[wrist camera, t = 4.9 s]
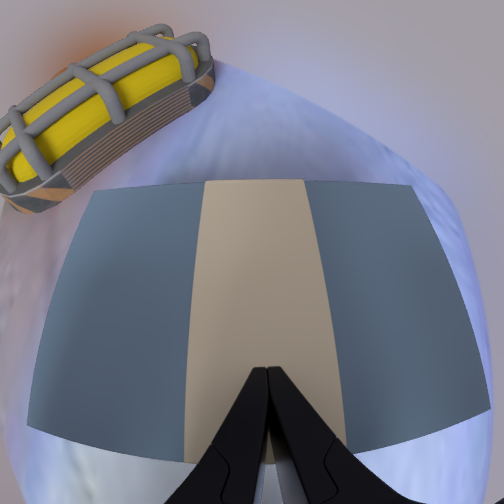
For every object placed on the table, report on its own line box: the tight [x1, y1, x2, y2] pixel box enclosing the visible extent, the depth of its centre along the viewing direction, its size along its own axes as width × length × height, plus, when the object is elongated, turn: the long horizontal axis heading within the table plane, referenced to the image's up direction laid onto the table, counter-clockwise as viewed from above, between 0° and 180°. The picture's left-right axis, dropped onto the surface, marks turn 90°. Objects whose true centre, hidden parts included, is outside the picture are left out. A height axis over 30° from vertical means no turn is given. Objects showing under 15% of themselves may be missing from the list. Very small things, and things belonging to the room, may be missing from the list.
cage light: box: [0, 24, 215, 214], centre depth 26 cm, size 15×8×30 cm
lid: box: [27, 179, 491, 465], centre depth 11 cm, size 13×18×1 cm
